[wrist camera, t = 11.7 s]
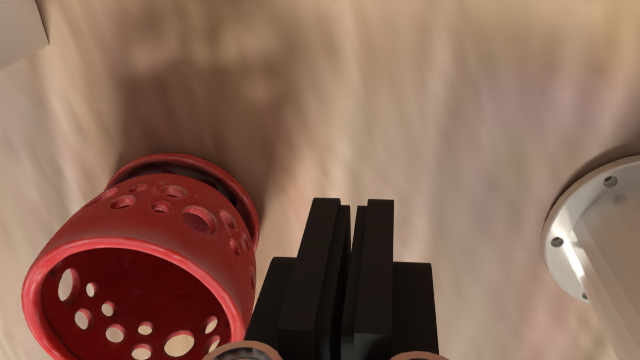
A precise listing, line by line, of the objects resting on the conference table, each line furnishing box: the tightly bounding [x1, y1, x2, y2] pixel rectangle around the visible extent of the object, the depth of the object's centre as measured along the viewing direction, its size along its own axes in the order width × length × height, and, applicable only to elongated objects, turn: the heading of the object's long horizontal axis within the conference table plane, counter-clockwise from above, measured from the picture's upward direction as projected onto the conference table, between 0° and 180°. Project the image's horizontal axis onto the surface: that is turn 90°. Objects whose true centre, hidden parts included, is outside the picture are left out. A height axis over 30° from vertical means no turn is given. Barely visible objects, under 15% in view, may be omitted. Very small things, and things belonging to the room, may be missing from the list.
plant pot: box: [21, 153, 259, 360], centre depth 37 cm, size 13×13×12 cm
